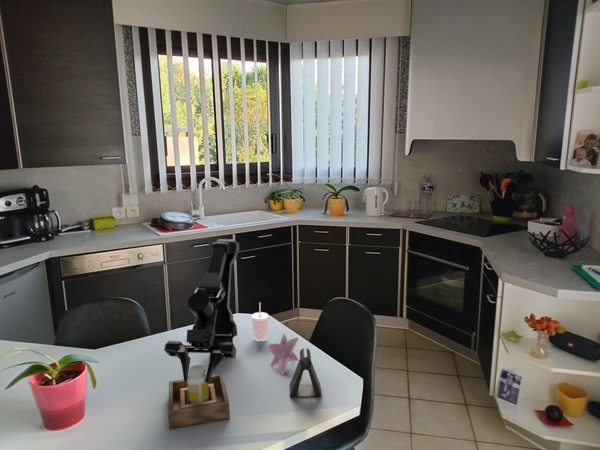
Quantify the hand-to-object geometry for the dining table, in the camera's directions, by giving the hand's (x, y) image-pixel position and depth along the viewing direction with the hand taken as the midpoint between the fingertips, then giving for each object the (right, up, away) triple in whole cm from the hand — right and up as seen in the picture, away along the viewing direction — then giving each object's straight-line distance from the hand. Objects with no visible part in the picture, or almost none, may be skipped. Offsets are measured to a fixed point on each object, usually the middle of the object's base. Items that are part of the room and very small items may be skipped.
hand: (195, 381), depth 113 cm
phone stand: (+29, -7, +10) cm, 32 cm away
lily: (+22, -4, +24) cm, 33 cm away
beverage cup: (+13, 0, +42) cm, 44 cm away
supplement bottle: (0, -7, +3) cm, 7 cm away
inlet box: (0, -8, +3) cm, 8 cm away
